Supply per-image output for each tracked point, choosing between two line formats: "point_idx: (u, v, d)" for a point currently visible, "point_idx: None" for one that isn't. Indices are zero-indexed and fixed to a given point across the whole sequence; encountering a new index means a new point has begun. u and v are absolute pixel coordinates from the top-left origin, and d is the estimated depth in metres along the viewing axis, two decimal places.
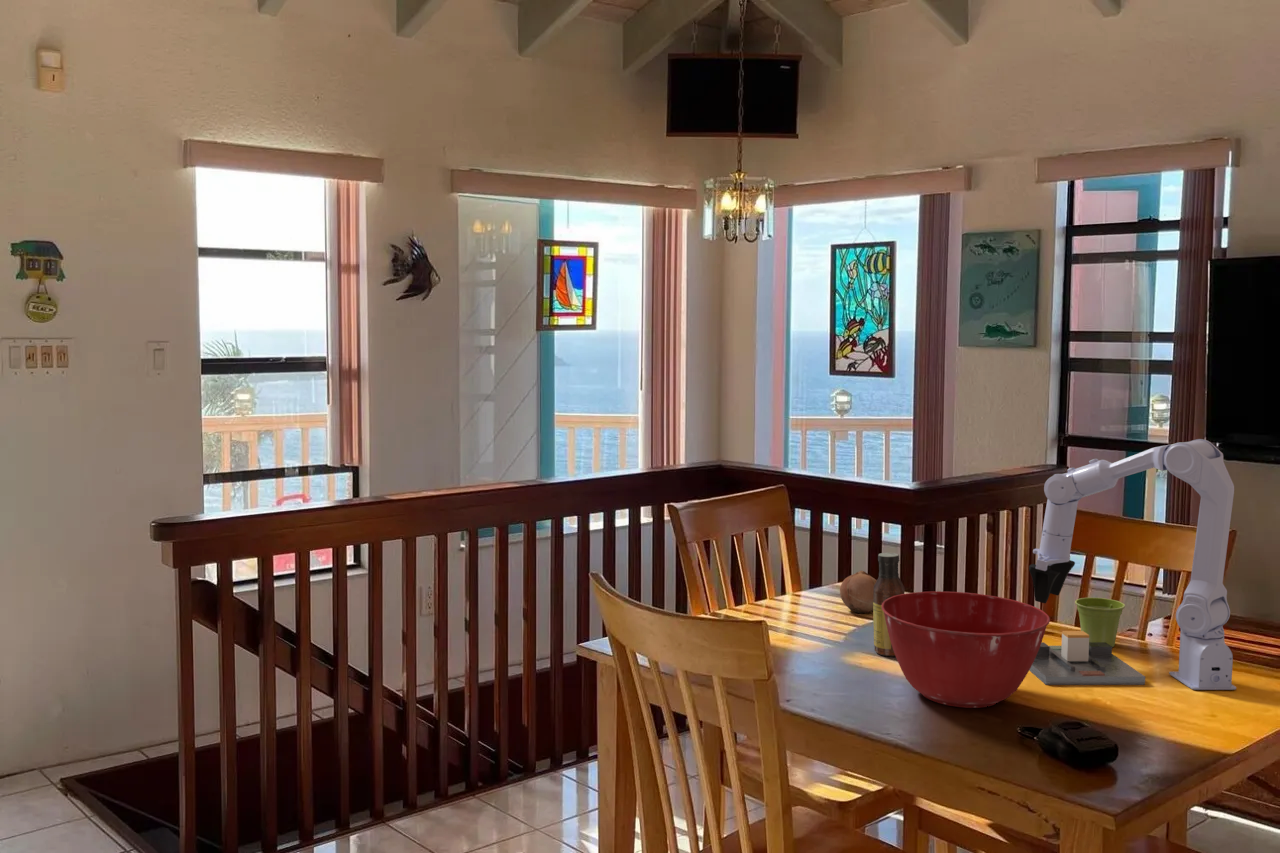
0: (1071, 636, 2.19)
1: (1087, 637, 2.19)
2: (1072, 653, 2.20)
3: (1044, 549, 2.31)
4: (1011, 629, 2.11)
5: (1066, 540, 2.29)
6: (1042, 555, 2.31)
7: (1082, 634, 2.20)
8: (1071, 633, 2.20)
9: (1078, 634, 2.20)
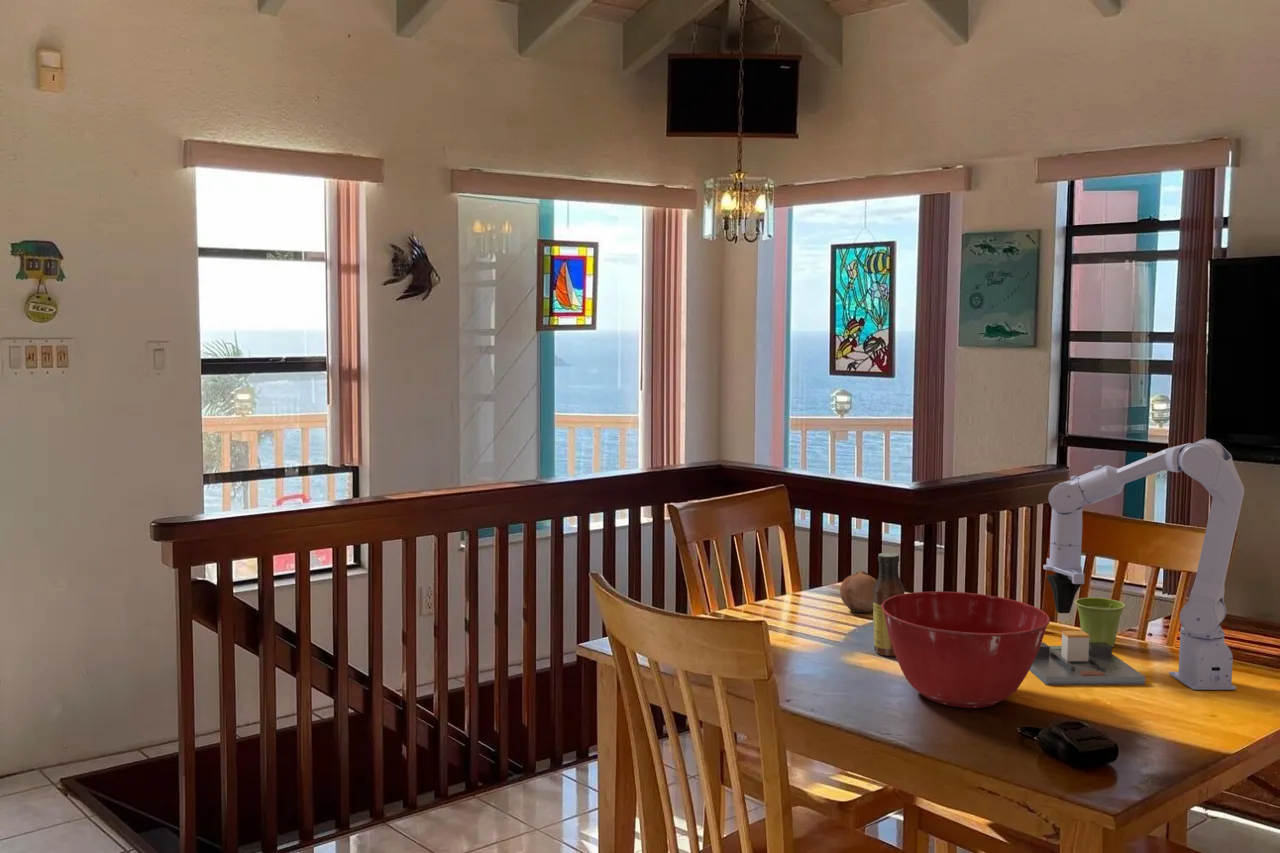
0: (1071, 636, 2.19)
1: (1087, 637, 2.19)
2: (1072, 653, 2.20)
3: (1063, 563, 2.23)
4: (1011, 629, 2.11)
5: None
6: (1063, 569, 2.23)
7: (1082, 634, 2.20)
8: (1071, 633, 2.20)
9: (1078, 634, 2.20)
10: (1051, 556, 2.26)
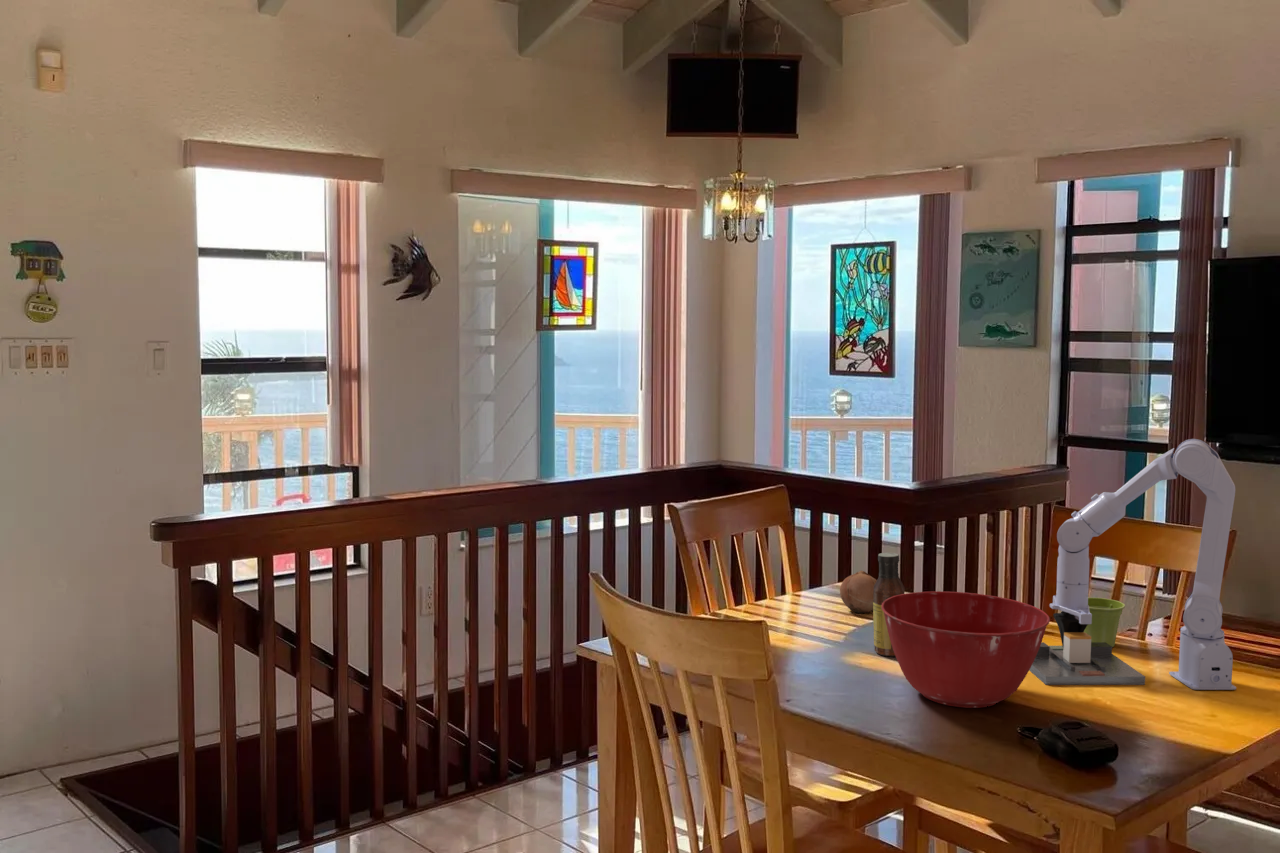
0: (1073, 637, 2.18)
1: (1089, 638, 2.18)
2: (1074, 655, 2.19)
3: (1070, 602, 2.20)
4: (1011, 629, 2.11)
5: (1088, 587, 2.21)
6: (1069, 609, 2.20)
7: (1084, 635, 2.19)
8: (1073, 634, 2.19)
9: (1080, 635, 2.19)
10: (1058, 595, 2.22)
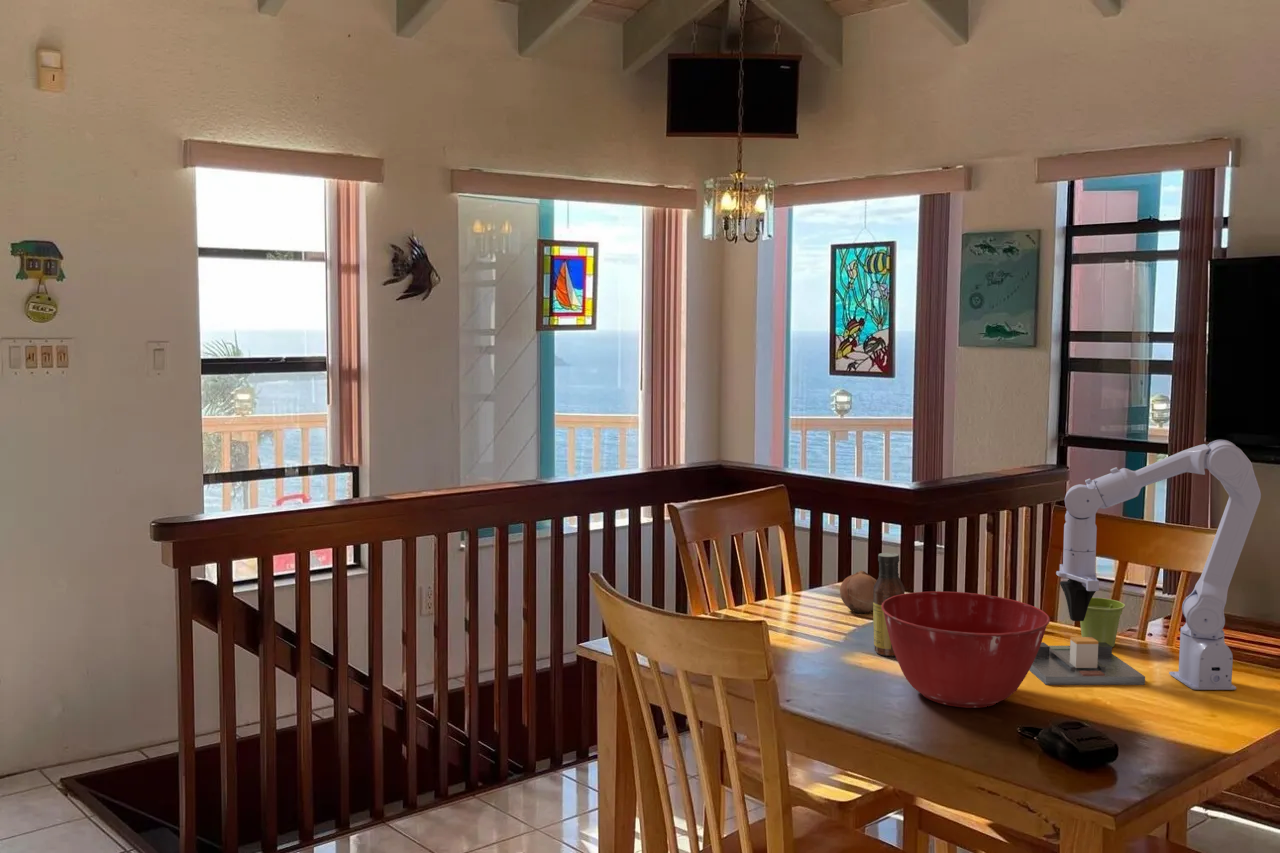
0: (1080, 642, 2.15)
1: (1096, 643, 2.15)
2: (1081, 660, 2.15)
3: (1077, 569, 2.17)
4: (1011, 628, 2.11)
5: (1095, 554, 2.17)
6: (1076, 576, 2.17)
7: (1091, 640, 2.16)
8: (1080, 639, 2.16)
9: (1087, 640, 2.16)
10: (1064, 562, 2.19)
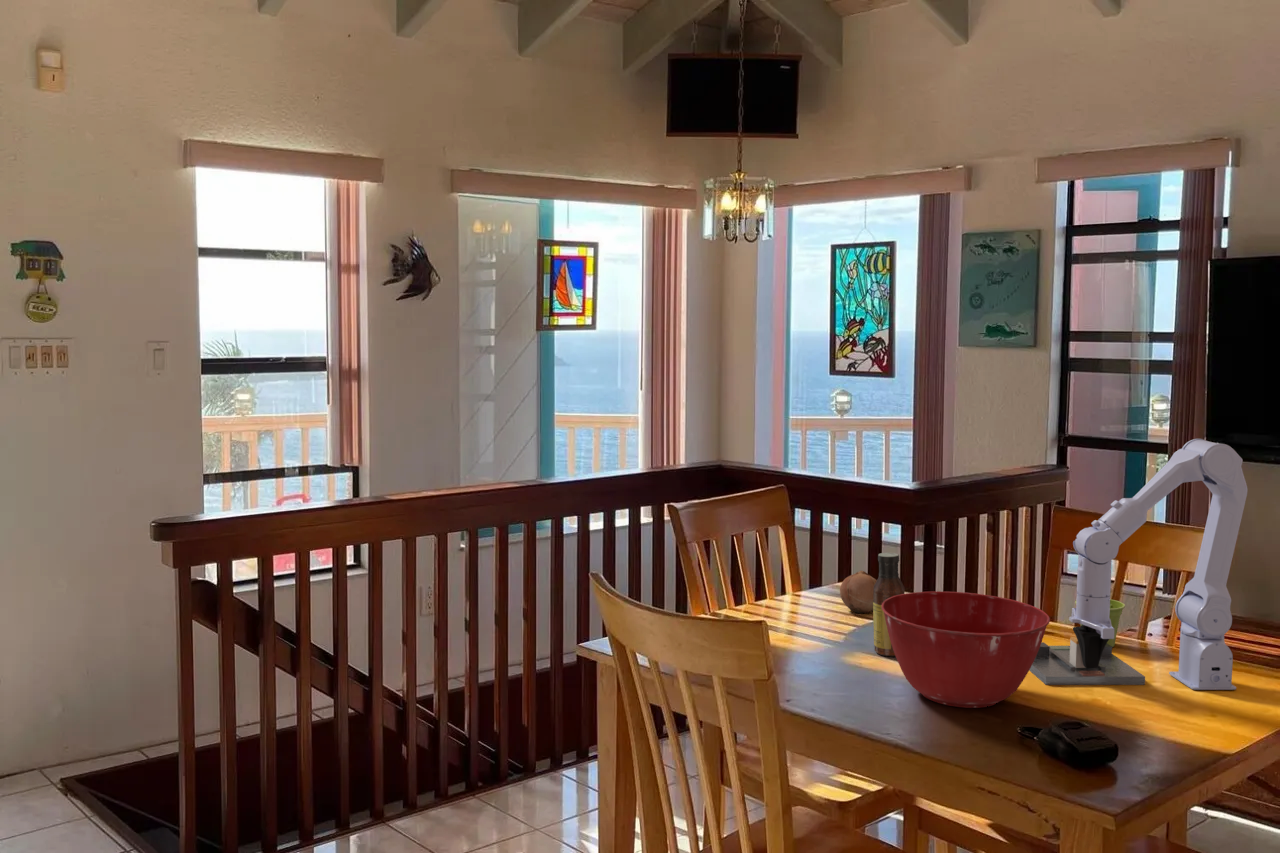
0: None
1: None
2: (1080, 660, 2.15)
3: (1091, 615, 2.10)
4: (1011, 629, 2.11)
5: (1109, 600, 2.11)
6: (1090, 622, 2.10)
7: None
8: None
9: None
10: (1078, 608, 2.12)
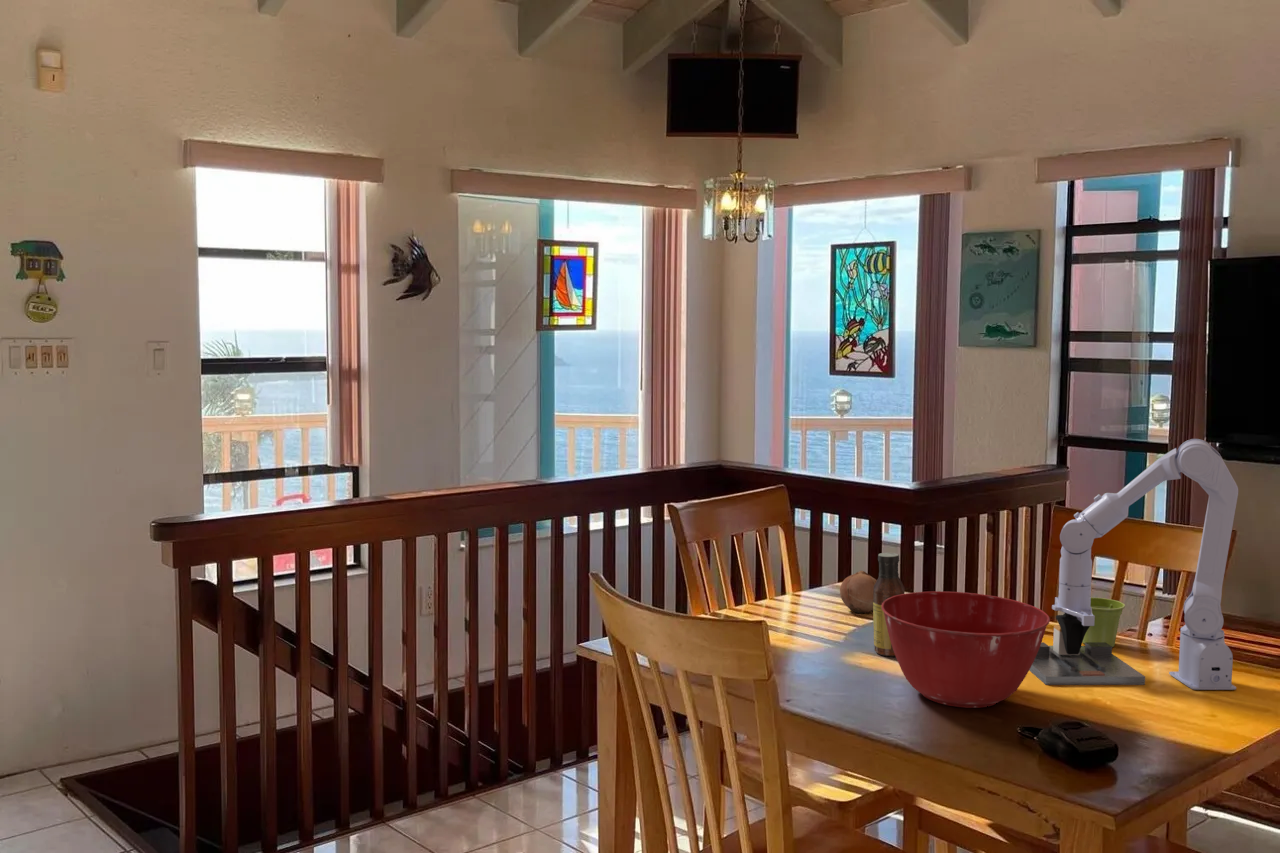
0: None
1: None
2: (1063, 647, 2.24)
3: (1073, 604, 2.19)
4: (1011, 628, 2.11)
5: (1090, 589, 2.20)
6: (1072, 610, 2.19)
7: None
8: None
9: None
10: (1060, 596, 2.21)
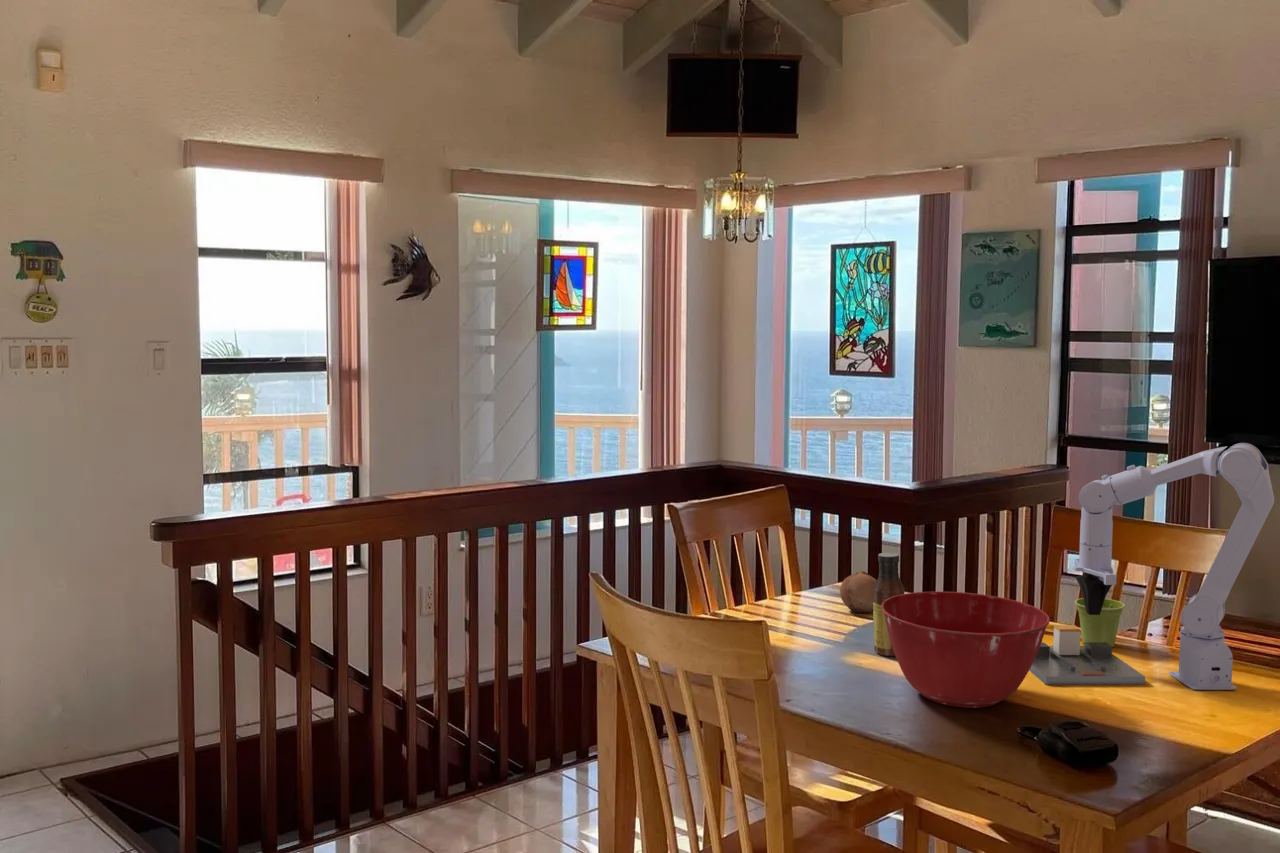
0: (1063, 630, 2.23)
1: (1078, 631, 2.23)
2: (1063, 647, 2.24)
3: (1094, 564, 2.19)
4: (1011, 629, 2.11)
5: (1111, 549, 2.20)
6: (1093, 570, 2.19)
7: (1073, 628, 2.24)
8: (1063, 627, 2.25)
9: (1069, 628, 2.24)
10: (1081, 557, 2.21)
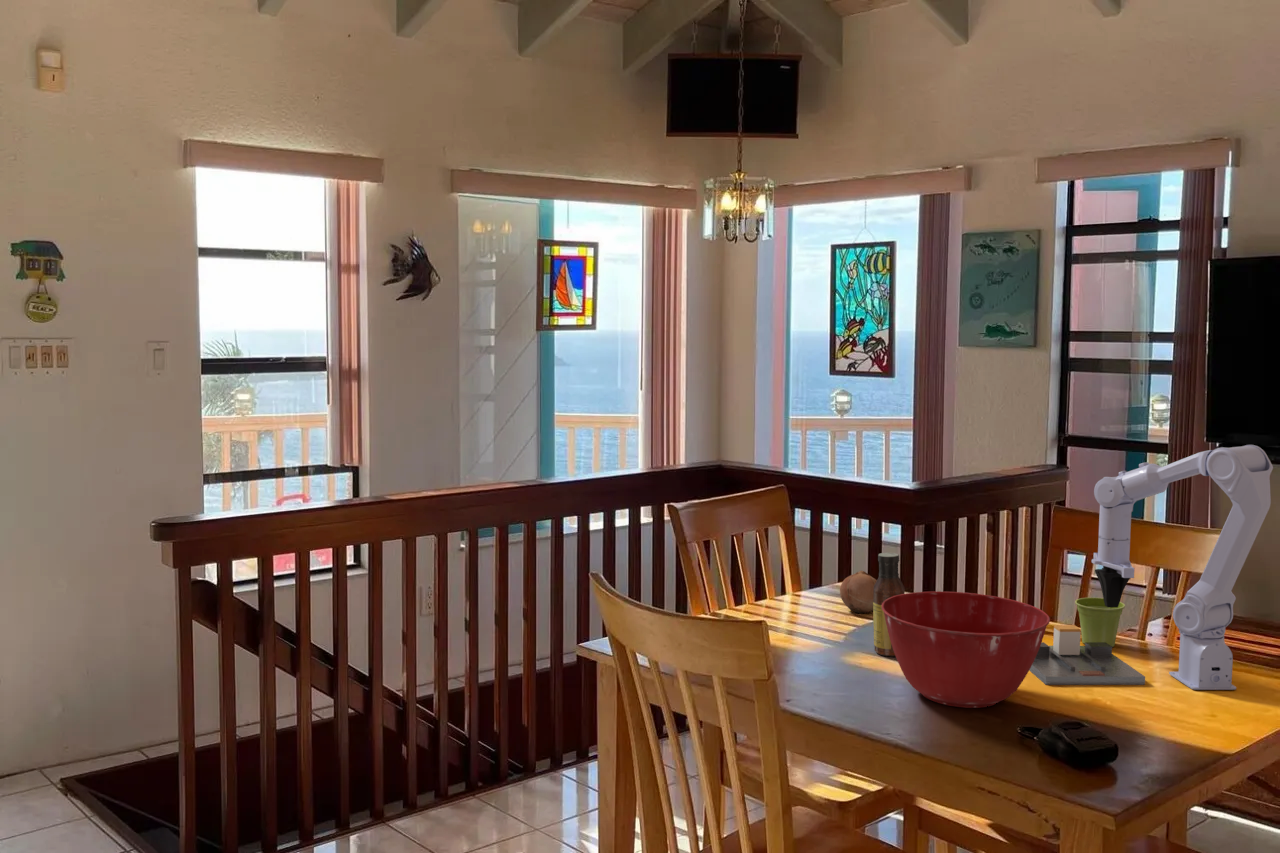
0: (1063, 630, 2.23)
1: (1078, 631, 2.23)
2: (1063, 647, 2.24)
3: (1112, 557, 2.25)
4: (1011, 629, 2.11)
5: (1129, 543, 2.26)
6: (1112, 564, 2.25)
7: (1073, 628, 2.24)
8: (1063, 627, 2.25)
9: (1069, 628, 2.24)
10: (1100, 550, 2.27)
